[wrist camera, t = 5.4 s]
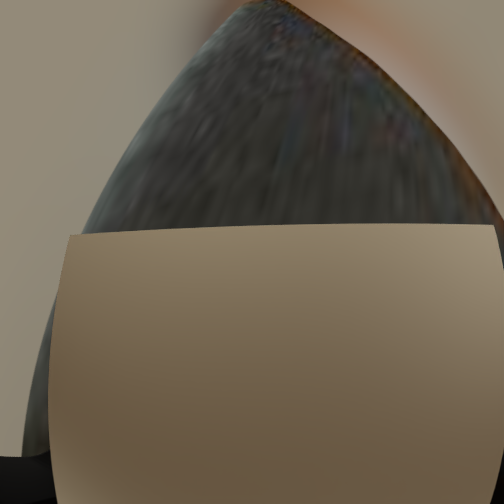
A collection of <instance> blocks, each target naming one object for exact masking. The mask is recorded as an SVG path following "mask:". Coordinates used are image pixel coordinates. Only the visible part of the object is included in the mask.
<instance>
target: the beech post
mask: <svg viewBox="0 0 504 504" xmlns="http://www.w3.org/2000/svg"><path fill="white" fill-rule="evenodd" d="M48 416H49V438H50V451H51V461H52V470H53V477H54V484H55V490H56V496H57V502H58V504H490V502H491V499H492V495H493V492H494V489H495V485H496V481H497V477H498V473H499V469H500V465H501V460H502V455H503V450H504V270H503V264H502V259H501V254H500V250H499V245H498V241H497V236H496V232H495V228H494V225H465V224H309V225H266V226H234V227H207V228H184V229H163V230H144V231H127V232H110V233H95V234H80V235H70V237H69V242H68V245H67V250H66V254H65V259H64V263H63V268H62V273H61V278H60V283H59V288H58V294H57V300H56V307H55V313H54V321H53V329H52V338H51V349H50V363H49V386H48Z"/></svg>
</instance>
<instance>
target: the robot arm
mask: <svg viewBox="0 0 504 504" xmlns="http://www.w3.org/2000/svg"><path fill="white" fill-rule="evenodd" d="M0 504H58V502H57V496H56V490H55V484H54V477H53V470H52V461H51V451H50V450H48V451H46V452H44V453H42V454H39V455H36V456H31V457H4V456H0ZM490 504H504V450H503V455H502V460H501V465H500V469H499V473H498V477H497V481H496V485H495V489H494V492H493V495H492V499H491V502H490Z"/></svg>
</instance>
